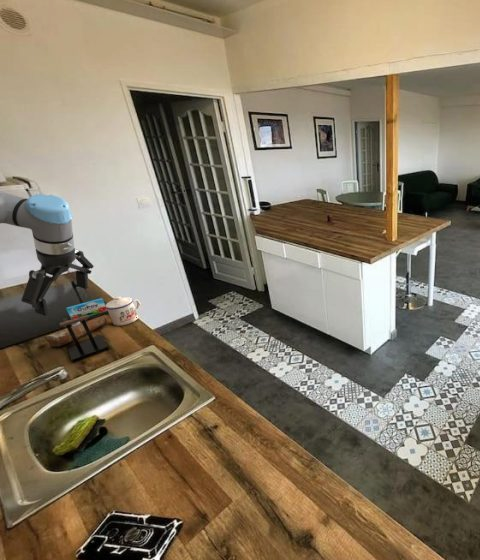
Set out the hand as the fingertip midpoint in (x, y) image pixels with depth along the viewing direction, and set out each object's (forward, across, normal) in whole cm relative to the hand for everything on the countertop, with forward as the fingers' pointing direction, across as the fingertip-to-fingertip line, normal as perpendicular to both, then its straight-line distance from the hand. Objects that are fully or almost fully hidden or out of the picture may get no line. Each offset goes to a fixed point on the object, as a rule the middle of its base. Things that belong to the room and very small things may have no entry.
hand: (63, 299), depth 98 cm
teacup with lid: (+33, +25, -2) cm, 41 cm away
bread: (+36, +12, +7) cm, 38 cm away
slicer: (+29, +4, -3) cm, 30 cm away
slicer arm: (+15, +3, 0) cm, 16 cm away
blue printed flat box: (+42, +26, +15) cm, 52 cm away
